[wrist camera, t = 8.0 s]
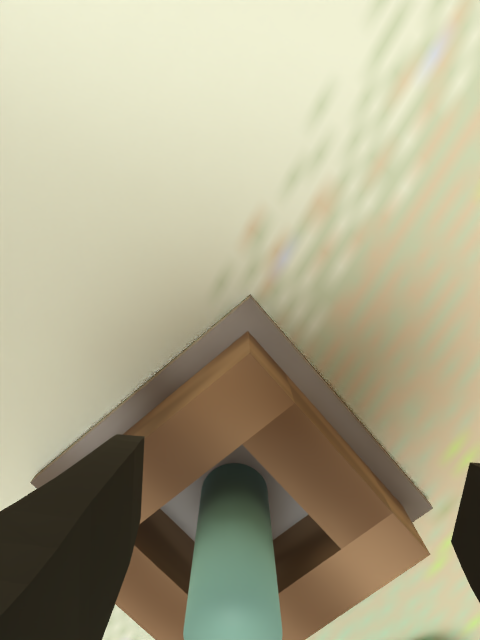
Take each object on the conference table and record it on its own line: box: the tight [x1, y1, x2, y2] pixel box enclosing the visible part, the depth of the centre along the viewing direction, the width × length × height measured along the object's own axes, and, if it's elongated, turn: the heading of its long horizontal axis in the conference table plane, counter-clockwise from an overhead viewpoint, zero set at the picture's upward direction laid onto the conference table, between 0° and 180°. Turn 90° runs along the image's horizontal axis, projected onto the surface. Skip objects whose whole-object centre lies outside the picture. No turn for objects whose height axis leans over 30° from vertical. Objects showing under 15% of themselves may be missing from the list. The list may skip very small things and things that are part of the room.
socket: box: [30, 295, 433, 640], centre depth 19 cm, size 13×13×4 cm
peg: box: [183, 463, 282, 640], centre depth 17 cm, size 3×3×7 cm
